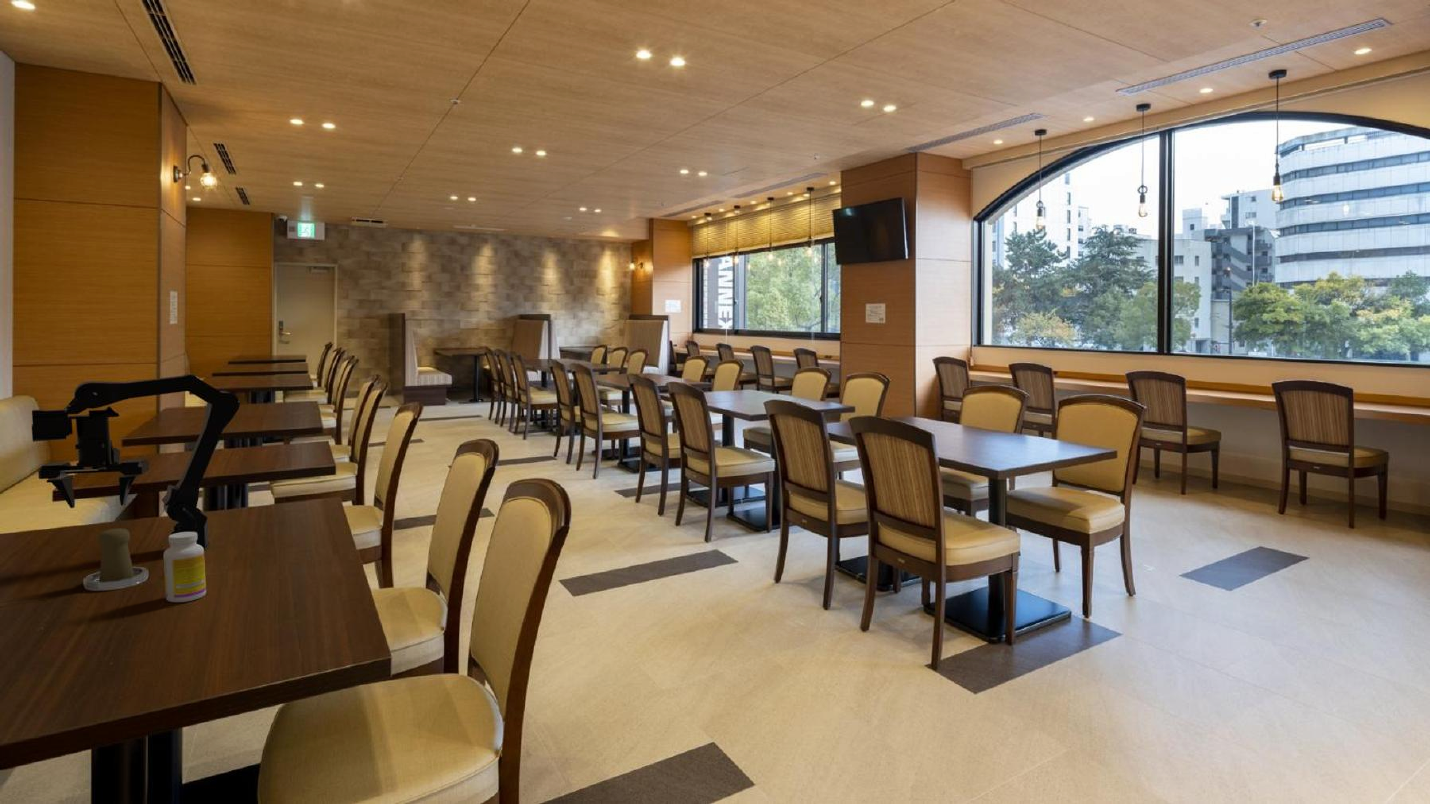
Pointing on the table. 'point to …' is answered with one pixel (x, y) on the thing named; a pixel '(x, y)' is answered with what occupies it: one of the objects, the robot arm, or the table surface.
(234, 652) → the table surface
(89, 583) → the ring seat
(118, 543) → the cork
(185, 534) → the supplement bottle
